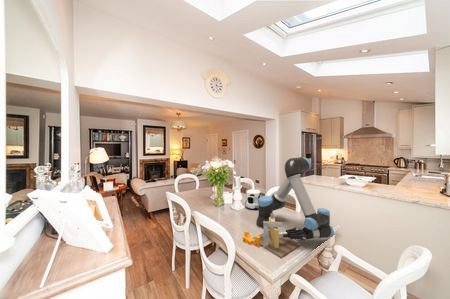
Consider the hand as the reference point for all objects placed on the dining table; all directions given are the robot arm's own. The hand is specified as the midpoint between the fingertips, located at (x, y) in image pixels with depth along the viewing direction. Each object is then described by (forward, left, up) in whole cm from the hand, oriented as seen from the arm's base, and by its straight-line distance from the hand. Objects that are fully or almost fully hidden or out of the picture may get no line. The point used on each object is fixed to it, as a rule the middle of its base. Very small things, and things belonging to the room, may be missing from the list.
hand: (277, 235), depth 118 cm
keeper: (+4, -1, -7) cm, 8 cm away
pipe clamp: (+12, -13, -8) cm, 19 cm away
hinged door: (-2, -5, -6) cm, 8 cm away
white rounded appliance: (-37, -60, -8) cm, 71 cm away
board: (-2, -3, -7) cm, 8 cm away
